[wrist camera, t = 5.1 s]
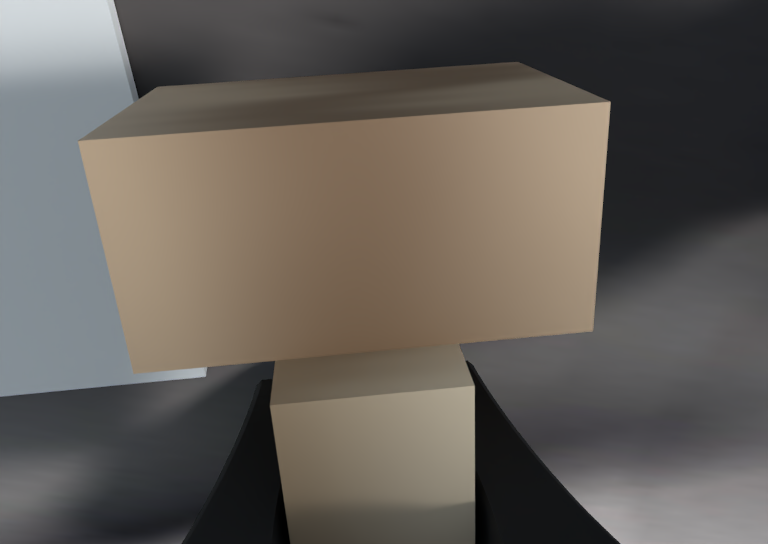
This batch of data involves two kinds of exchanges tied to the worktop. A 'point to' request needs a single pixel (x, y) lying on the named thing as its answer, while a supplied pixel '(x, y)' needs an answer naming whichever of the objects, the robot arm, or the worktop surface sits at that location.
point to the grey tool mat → (58, 198)
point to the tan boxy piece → (355, 263)
